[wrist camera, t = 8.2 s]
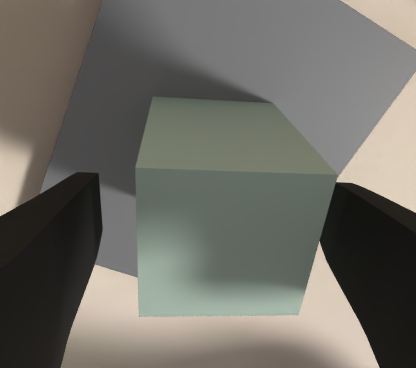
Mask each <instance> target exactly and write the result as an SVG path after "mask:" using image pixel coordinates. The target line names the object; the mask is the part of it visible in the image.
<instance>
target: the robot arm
mask: <svg viewBox="0 0 416 368" xmlns="http://www.w3.org/2000/svg"><path fill="white" fill-rule="evenodd" d="M102 232H103V225H102V211H101V197H100V183H99V173H90V172H76V173H74V174H72V175H71V176H69V177H67V178H65V179H64V180H62V181H61V182H59V183H57V184H56V185H54V186H53V187H51V188H49V189H48V190H46V191H44V192H43V193H41V194H39V195H38V196H36V197H34V198H33V199H31V200H29V201H27V202H26V203H24V204H22V205H20V206H18V207H16V208H15V209H13V210H11V211H9V212H7V213H6V214H4V215H2V216H0V368H61V364H62V360H63V356H64V352H65V348H66V344H67V340H68V337H69V334H70V330H71V327H72V324H73V321H74V319H75V316H76V313H77V311H78V308H79V305H80V303H81V300H82V297H83V295H84V292H85V289H86V286H87V284H88V281H89V278H90V276H91V273H92V270H93V267H94V265H95V262H96V259H97V255H98V251H99V246H100V242H101V237H102ZM319 241H320V244H321V247H322V250H323V252H324V255H325V258H326V260H327V263H328V264H329V266H330V268H331V270H332V272H333V274H334V276H335V278H336V280H337V282H338V283H339V285H340V287H341V289H342V291H343V292H344V294H345V296H346V298H347V300H348V302H349V303H350V305H351V307H352V309H353V311H354V313H355V314H356V316H357V318H358V320H359V322H360V324H361V326H362V328H363V330H364V332H365V334H366V336H367V338H368V341H369V343H370V346H371V348H372V350H373V353H374V355H375V358H376V360H377V362H378V365H379V367H380V368H416V213H415V212H413V211H411V210H409V209H407V208H405V207H403V206H401V205H399V204H397V203H395V202H393V201H391V200H389V199H387V198H385V197H383V196H381V195H379V194H376V193H374V192H372V191H370V190H368V189H366V188H363V187H361V186H358V185H356V184H353V183H340V182H336V183H335V187H334V190H333V194H332V198H331V201H330V205H329V208H328V212H327V215H326V219H325V222H324V226H323V230H322V233H321V237H320V240H319Z"/></svg>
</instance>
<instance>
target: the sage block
mask: <svg viewBox="0 0 416 368" xmlns="http://www.w3.org/2000/svg"><path fill="white" fill-rule="evenodd" d="M337 176H338V174H337V173H336V172H335V171H334V170H333V169H332V168H331V167H330V165H329V164H328V163H327V162H326V161H325V160H324V159H323V158H322V157H321V155H320V154H319V153H318V152H317V151H316V150H315V149H314V148H313V147H312V145H311V144H310V143H309V142H308V141H307V140H306V139H305V138H304V137H303V136H302V134H301V133H300V132H299V131H298V130H297V129H296V128H295V127H294V126H293V124H292V123H291V122H290V121H289V120H288V119H287V118H286V117H285V116H284V114H283V113H282V112H281V111H280V110H279V109H278V108H277V107H276V106H275V105H274V103H260V102H242V101H224V100H207V99H189V98H171V97H153V98H152V102H151V106H150V110H149V114H148V118H147V122H146V126H145V130H144V134H143V138H142V142H141V146H140V151H139V155H138V159H137V163H136V167H135V178H136V218H137V259H138V300H139V317H150V316H257V315H299V311H300V308H301V304H302V301H303V297H304V294H305V290H306V286H307V283H308V279H309V276H310V272H311V269H312V265H313V262H314V258H315V254H316V251H317V247H318V244H319V240H320V237H321V233H322V230H323V226H324V222H325V219H326V215H327V212H328V208H329V205H330V201H331V198H332V194H333V190H334V187H335V183H336V180H337Z"/></svg>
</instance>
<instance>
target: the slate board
mask: <svg viewBox="0 0 416 368" xmlns="http://www.w3.org/2000/svg"><path fill="white" fill-rule="evenodd" d="M415 72H416V49H414V48H413V47H411V46H410V45H408V44H407V43H405V42H404V41H402V40H400V39H399V38H397V37H396V36H394V35H393V34H391V33H390V32H388V31H387V30H385V29H384V28H382V27H380V26H379V25H377V24H376V23H374V22H373V21H371V20H370V19H368V18H367V17H365V16H363V15H362V14H360V13H359V12H357V11H356V10H354V9H353V8H351V7H350V6H348V5H347V4H345V3H343V2H342V1H340V0H103V1H102V4H101V7H100V10H99V13H98V16H97V19H96V22H95V25H94V28H93V31H92V35H91V38H90V41H89V44H88V47H87V50H86V53H85V56H84V59H83V62H82V65H81V68H80V71H79V74H78V77H77V80H76V83H75V87H74V90H73V93H72V96H71V99H70V102H69V105H68V108H67V111H66V114H65V117H64V120H63V123H62V126H61V129H60V132H59V135H58V139H57V142H56V145H55V148H54V151H53V154H52V157H51V160H50V163H49V166H48V169H47V172H46V175H45V178H44V181H43V184H42V187H41V191H40V194H41V193H43V192H44V191H46V190H48V189H49V188H51V187H53V186H54V185H56V184H57V183H59V182H61V181H62V180H64V179H65V178H67V177H69V176H71V175H72V174H74V173H76V172H90V173H99V183H100V197H101V211H102V225H103V232H102V237H101V242H100V246H99V251H98V255H97V259H96V262H95V265H99V266H102V267H105V268H108V269H112V270H115V271H118V272H122V273H125V274H128V275H131V276H135V277H138V259H137V218H136V178H135V167H136V163H137V159H138V155H139V151H140V146H141V142H142V138H143V134H144V130H145V126H146V122H147V118H148V114H149V110H150V106H151V102H152V98H153V97H171V98H189V99H207V100H224V101H242V102H260V103H274V105H275V106H276V107H277V108H278V109H279V110H280V111H281V112H282V113H283V114H284V116H285V117H286V118H287V119H288V120H289V121H290V122H291V123H292V124H293V126H294V127H295V128H296V129H297V130H298V131H299V132H300V133H301V134H302V136H303V137H304V138H305V139H306V140H307V141H308V142H309V143H310V144H311V145H312V147H313V148H314V149H315V150H316V151H317V152H318V153H319V154H320V155H321V157H322V158H323V159H324V160H325V161H326V162H327V163H328V164H329V165H330V167H331V168H332V169H333V170H334V171H335V172H336V173H337V174H338V176H339V175H340V174H341V172H342V171H343V169H344V168H345V167H346V165H347V164H348V163H349V161H350V160H351V159H352V157H353V156H354V155H355V153H356V152H357V150H358V149H359V148H360V146H361V145H362V144H363V142H364V141H365V140H366V138H367V137H368V136H369V134H370V133H371V131H372V130H373V129H374V127H375V126H376V125H377V123H378V122H379V121H380V119H381V118H382V116H383V115H384V114H385V112H386V111H387V110H388V108H389V107H390V106H391V104H392V103H393V102H394V100H395V99H396V97H397V96H398V95H399V93H400V92H401V91H402V89H403V88H404V87H405V85H406V84H407V83H408V81H409V80H410V78H411V77H412V76H413V74H414V73H415ZM338 176H337V178H338Z"/></svg>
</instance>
